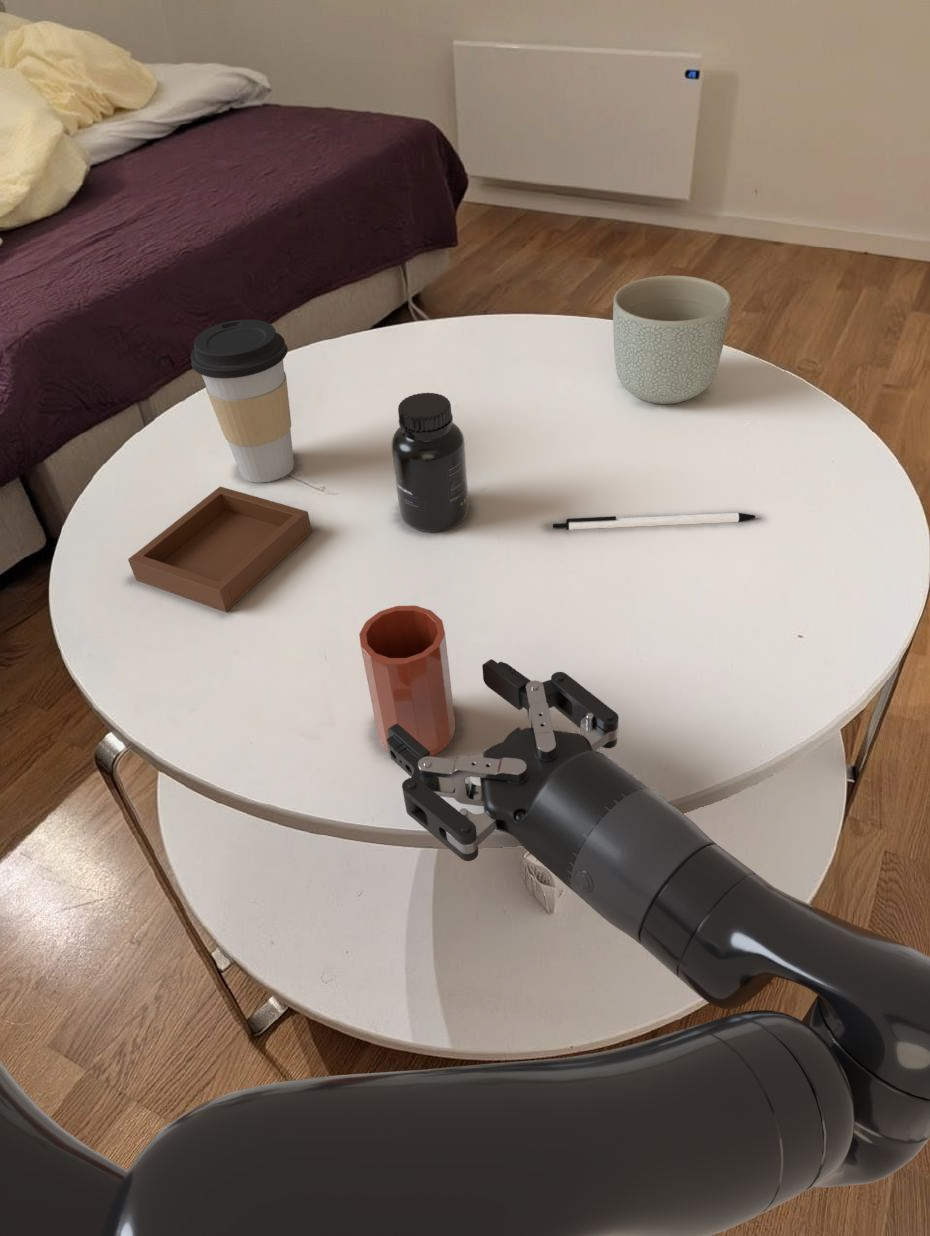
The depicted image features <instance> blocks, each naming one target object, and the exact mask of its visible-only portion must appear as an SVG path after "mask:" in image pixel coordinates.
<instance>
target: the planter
mask: <svg viewBox="0 0 930 1236" xmlns="http://www.w3.org/2000/svg"><path fill="white" fill-rule="evenodd" d="M612 301H613V302H612V335H613V355H614V364H615V365H614V366H615V371H616V376H617V379H618V380H619V383H620V384H621V385H622V386H623V388H624V389H625V390H626V391H627V392H629V393H630V394H631V395H633V396H634V397H636V398H638V399H640V400H642V401H644V402H649V403H653V404H660V405H661V404H662V405H670V404H671V405H672V404H679V403H682V402H685V401H688V400H690V399H693V398H694V397H696V396H698V395H700V394H702V393H703V392H704V391H705V390H707V388H708V387H709V386H710V385H711V384H712V382H713V381H714V379H715V376H716V374H717V371H718V368H719V365H720V360H721V357H722V353H723V348H724V344H725V339H726V334H727V330H728V329H727V328H728V324H729V319H730V318H729V317H730V313H731V303H732V297H731V295H730V292H729V291H728V290H727V289H725V288H724V287H723V286H721V285H719V284H718V283H715V281H714V282H713V281H711V280H708V279H704V278H700V277H695V276H687V275H658V276H657V275H656V276H650V277H649V276H648V277H645V278H640V279H636V280H634V281H631V282H628V283H627V284H625V285H623V286H621V287H620V288H619V289H618V290H617V291H616V292H615V294H614V295H613V300H612Z"/></svg>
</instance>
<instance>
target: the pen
mask: <svg viewBox="0 0 930 1236" xmlns="http://www.w3.org/2000/svg"><path fill="white" fill-rule="evenodd" d="M757 517H758V516H757V515H755V514H749V513H743V512H722V513H719V512H718V513H705V514H704V513H700V514H699V513H697V514H682V515H681V514H680V515H679V514H678V515H677V514H675V515H659V516H658V515H656V516H634V517H617V516H616V515H614V516H613V515H611V516H594V517H572V518H566V520H565V523H564V522H562V523H552V529H558V528H559V529H561V528H565V530H567V531H569V530H570V531H571V530H592V529H593V530H594V529H611V528H613V529H614V528H634V527H655V526H656V527H657V526H674V525H675V526H676V525H678V526H679V525H698V524H721V523H723V524H725V523H739V522H745V521H748V520H752V519H756V518H757Z"/></svg>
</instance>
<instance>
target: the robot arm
mask: <svg viewBox="0 0 930 1236" xmlns="http://www.w3.org/2000/svg"><path fill="white" fill-rule="evenodd" d="M481 667H482V680H483V682H484V684H485V685H486V687H487V688H489V689H490V690H491V691H493V692H494V693H496V694H497V695H498V696H499V697H501V698H502V699H503V700H504V701H506V702H507V703H508V704H510V705H511V706H513V707H514V708H515V709H517V711H521V710H522V709H524V710H526V715H527V716H526V717H527V722H528V727H526V728H520V726H519V727H516V728H515V729H514V730H513V731H511V732H510V733H508V735H506V737H505V738H504V740H503V741H501V742H499V743H497V744H495V745H492V746H490V747H489V748H488V749H487V750H485V751H484V752H482V756H474V755H466V754H459V755H457V756H456V757H455V758H449V757H441V756H440V757H439V756H430V751H429V750H427V749H426V748H425V747H424V746H423V745H422V744H420V743H419V742H418V741H417V740H416V739H415V738H414V737H412V736H411V735H410V734H409V733H408V732H407V731H406V730H404V729H403V728H402V727H401V726H400V725H399V724H397V723H396V724H394V725H393V726H391V727H390V728H389V729H387V733H388V739H387V744H388V749H389V752H388V754H389V756H390V759H391V761H393V762H394V763H395V764H397V766H398V767H400V769H402V770H403V772H405V773H406V774H407V775H408V776H409V777H408V778H407V779H406V778H405V780H403V782H402V783H401V788H402V793H403V794H402V795H403V801H404V806H405V811H406V814H407V815H408V816H409V817H411V818H412V819H413V820H414V821H416V822H417V823H418V824H419V825H420V826H421V827H423V828H424V830H426V831H427V832H429V834H431V835H432V836H433V837H434V838H436V839H437V840H438V841H439V842H441V843H442V844H443V845H444V846H445V847H447V849H449V850H450V851H451V852H452V853H454V855H456V856H457V857H459V858H460V859H461V860H462V861H464V862H473V861H474V860H475V859H477V857H478V856H479V845H480V844H481V843H482V842H484V841H485V840H487V838H488V837H489V836H490V835H491V834H492V833H494V832H495V831H499V832H503V833H506V834H508V835H511V836H512V837H514V838H515V839H516V840H517V842H518V843H519V844H520V845H521V846H522V847H523V848H524V850H526V851H527V852H528V853H529V854H531V856H533V858H535V859H536V860H537V861H538V862H540V863H541V864H542V866H544V867H545V868H546V869H547V870H549V872H551V873H552V874H553V875H554V876H555V877H556V878H558V880H560V882H562V883H563V884H564V885H566V886H567V887H568V888H569V889H570V890H571V891H572V892H573V893H574V894H576V895H577V896H578V897H579V898H580V899H582V900H583V901H584V902H585V903H586V904H587V905H588V906H589V907H590V908H591V909H592V910H594V911H595V912H596V913H597V914H598V915H600V916H601V917H602V918H603V919H604V920H605V921H606V922H608V923H609V924H611V925H612V926H613V927H615V928H617V929H618V930H619V931H621V932H623V933H624V934H626V935H627V936H629V937H630V938H631V939H633V941H635V942H637V943H638V944H639V945H641V946H642V947H643V948H644V949H645V950H646V951H647V952H648V953H649V954H650V955H652V956H653V957H654V958H655V959H656V960H657V961H658V962H660V963H661V964H662V965H663V966H664V967H665V968H666V969H668V970H669V971H670V972H671V973H672V974H673V975H674V976H676V977H677V979H679V980H680V981H681V982H683V983H684V984H685V985H686V986H687V987H688V988H689V989H690V990H691V991H693V992H694V993H695V994H697V995H698V996H699V998H702V999H703V1000H704V1001H706V1002H707V1003H708V1004H710V1005H712V1006H714V1007H716V1008H720V1009H723V1010H734V1009H737V1008H740V1007H742V1006H744V1005H746V1004H747V1003H749V1002H750V1001H751V1000H752V999H754V998H755V997H756V996H757V995H758V994H759V993H760V992H761V991H763V989H765V987H767V986H768V985H769V983H770V982H772V981H773V979H775V978H779V979H782V980H786V981H789V982H792V983H794V984H797V985H799V986H802V987H804V988H806V989H808V990H810V991H812V993H814V994H816V997H815V998H814V1000H813V1002H812V1003H811V1005H810V1006H809V1008H808V1010H807V1012H806V1013H805V1014H804V1017H802V1020H800V1019H799V1018H797V1017H795V1016H792V1015H791V1014H788V1013H784V1012H781V1011H776V1010H768V1009H765V1010H764V1009H757V1010H748V1011H743V1012H742V1011H741V1012H737V1013H733V1014H730V1015H726V1016H723V1017H720V1018H717V1019H712V1020H709V1021H706V1022H703V1023H700V1024H696V1025H693V1026H690V1027H686V1028H683V1029H679V1030H676V1031H673V1032H671V1033H666V1034H664V1035H660V1036H657V1037H654V1038H650V1039H648V1040H644V1041H640V1042H636V1043H632V1044H629V1045H626V1046H621V1047H618V1048H612V1049H608V1050H604V1051H599V1052H593V1053H588V1054H587V1053H586V1054H580V1055H575V1056H567V1057H557V1058H546V1059H535V1060H523V1061H522V1060H521V1061H509V1062H497V1063H495V1062H494V1063H484V1064H473V1065H472V1064H471V1065H462V1066H461V1065H460V1066H459V1065H458V1066H449V1067H440V1068H430V1069H429V1068H428V1069H417V1070H415V1069H414V1070H400V1071H385V1072H384V1071H383V1072H370V1073H355V1074H353V1073H352V1074H338V1075H330V1076H329V1075H328V1076H327V1075H326V1076H319V1077H317V1076H316V1077H307V1078H299V1079H291V1080H285V1081H284V1080H283V1081H279V1082H272V1083H266V1084H259V1085H255V1086H250V1087H247V1088H242V1089H238V1090H235V1091H232V1092H228V1093H225V1094H222V1095H219V1096H216V1097H213V1098H211V1099H208V1100H206V1101H204V1102H202V1103H199V1104H197V1105H196V1106H193V1107H191V1108H189V1109H188V1110H186V1111H184V1112H183V1113H182V1114H180V1115H179V1116H178V1117H176V1118H174V1119H173V1120H171V1122H169V1123H168V1124H166V1125H165V1126H163V1127H162V1129H160V1130H159V1131H158V1132H157V1133H156V1134H155V1135H154V1136H153V1137H152V1138H151V1139H150V1141H149V1142H148V1143H147V1144H146V1145H145V1146H144V1147H143V1148H142V1149H141V1151H139V1153H138V1154H137V1155H136V1157H135V1158H134V1160H133V1161H132V1163H131V1164H130V1166H129V1168H128V1169H126V1168H125V1167H123V1166H122V1165H121V1164H118V1163H116V1162H115V1161H113V1160H112V1159H111V1158H108V1157H107V1156H105V1155H103V1154H101V1153H99V1152H98V1151H97V1150H95V1149H93V1148H91V1147H90V1146H89V1145H87V1144H86V1143H84V1142H83V1141H81V1140H80V1139H78V1138H77V1137H75V1135H73V1134H71V1133H70V1132H69V1131H67V1130H65V1128H64V1127H62V1126H61V1125H60V1124H59V1123H58V1122H57V1121H55V1120H54V1119H53V1118H52V1117H51V1116H50V1115H48V1114H47V1113H46V1111H44V1110H43V1109H42V1108H41V1107H40V1106H39V1105H38V1103H36V1101H35V1100H34V1099H33V1098H32V1097H31V1096H30V1095H29V1094H28V1093H27V1092H26V1090H24V1089H23V1088H22V1086H21V1084H20V1083H19V1082H18V1081H17V1080H16V1078H15V1077H14V1075H13V1074H12V1073H11V1071H9V1069H8V1068H7V1066H6V1065H5V1064H4V1063H3V1061H2V1060H1V1059H0V1236H714V1235H717V1234H720V1233H722V1232H726V1231H729V1230H730V1229H732V1228H733V1229H734V1228H735V1227H737V1226H739V1225H741V1224H744V1223H746V1222H749V1221H750V1220H752V1219H755V1218H757V1217H759V1216H761V1215H763V1214H765V1213H766V1212H768V1211H770V1210H773V1209H774V1208H777V1207H778V1206H780V1205H782V1204H786V1203H787V1202H789V1201H791V1200H792V1199H795V1198H796V1197H798V1196H800V1195H802V1194H804V1193H806V1192H808V1191H809V1190H811V1189H812V1188H837V1187H847V1186H848V1187H849V1186H858V1185H859V1186H860V1185H868V1184H873V1183H876V1182H879V1181H881V1180H884V1179H886V1178H888V1177H890V1176H891V1175H893V1174H894V1173H896V1172H898V1171H899V1170H901V1169H902V1168H903V1167H905V1166H906V1165H907V1164H909V1163H910V1161H912V1160H913V1159H914V1158H915V1157H916V1156H917V1155H918V1154H919V1153H920V1152H921V1151H922V1149H923V1148H924V1147H925V1146H926V1144H927V1142H929V1140H930V956H928V955H926V954H925V953H923V952H921V951H919V950H917V949H915V948H913V947H911V946H909V945H906V944H904V943H902V942H899V941H897V940H895V939H892V938H889V937H887V936H884V935H881V934H879V933H877V932H874V931H871V930H869V929H867V928H864V927H861V926H859V925H857V924H854V923H852V922H849V921H848V920H844V919H843V918H840V917H838V916H836V915H834V914H832V913H829V912H827V911H825V910H823V909H821V908H819V907H817V906H814V905H812V904H810V903H807V902H806V901H803V900H801V899H798V898H796V897H795V896H793V895H790V894H788V893H786V892H785V891H782V890H781V889H779V888H777V887H775V886H773V885H772V884H770V883H769V882H768V881H767V880H766V879H765V878H763V877H762V876H761V875H759V874H757V873H756V872H755V871H754V870H752V869H751V867H748V866H747V865H746V864H745V863H743V862H742V861H740V860H739V859H738V858H736V857H735V856H734V855H732V854H731V853H730V852H728V851H727V850H726V849H724V848H723V847H722V846H721V845H719V844H718V843H717V842H715V841H714V840H713V839H711V837H709V836H708V834H706V833H705V832H704V831H703V830H702V829H701V828H700V827H699V826H698V825H697V824H696V823H695V822H694V821H693V820H692V819H691V818H690V817H689V816H687V815H686V814H685V813H683V812H682V811H680V810H679V809H678V808H676V807H675V806H674V805H673V804H672V803H671V802H670V801H668V800H667V799H665V798H663V796H661V795H659V794H658V793H656V792H655V791H654V790H652V789H651V788H650V787H648V786H647V785H646V784H644V783H643V782H642V781H640V780H639V779H637V778H636V777H635V776H634V775H632V774H631V773H629V772H628V771H627V770H626V769H624V768H623V767H622V766H620V765H619V764H617V763H616V762H615V761H614V760H612V759H611V758H609V757H608V756H607V755H606V754H604V753H602V752H600V751H598V750H599V749H600V748H604V749H613V748H615V747H616V746H617V744H618V737H619V720H620V718H619V714H618V713H617V712H615V711H614V710H613V709H612V708H610V706H608V705H607V704H605V703H604V702H603V701H602V700H601V699H599V698H598V697H597V696H595V695H594V694H593V693H591V692H590V691H589V690H588V689H586V688H585V687H584V686H582V685H581V684H580V683H579V682H578V681H576V680H575V679H574V678H572V677H571V676H570V675H568V674H567V673H566V672H563V671H556V672H554V673H552V674H551V677H550V679H548V680H546V681H540V680H531V679H529V678H528V677H527V676H525V675H524V674H522V673H521V672H520V671H518V670H516V668H514V667H512V665H510V664H509V663H507V662H503V661H498V662H497V661H496V660H494V659H492V658H490V659H489V660H487V661H486V662H484V663H482V666H481ZM551 708H555V709H556V710H557V711H558V712H560V713H561V714H562V715H563V716H564V717H565V718H567V719H568V720H569V721H570V722H571V723H573V725H575V726H576V727H577V728H579V731H580V733H577V732H570V731H569V732H568V731H561V730H554V729H553V724H552V719H551V713H550V709H551ZM471 777H472V778H479V782H480V785H478V784H474V783H473V782H472V781H471ZM442 797H443V798H442ZM445 798H452V799H454V800H455V801H456V802H458V803H459V804H462V805H469V806H470V805H471V806H478V807H483V812H482V813H478V814H477V813H473V812H471V811H469V810H468V809H467V808H461V809H459V810H458V809H456V808H455V807H454V806H453V805H451V804H450V803H449V802H447V800H445Z"/></svg>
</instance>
